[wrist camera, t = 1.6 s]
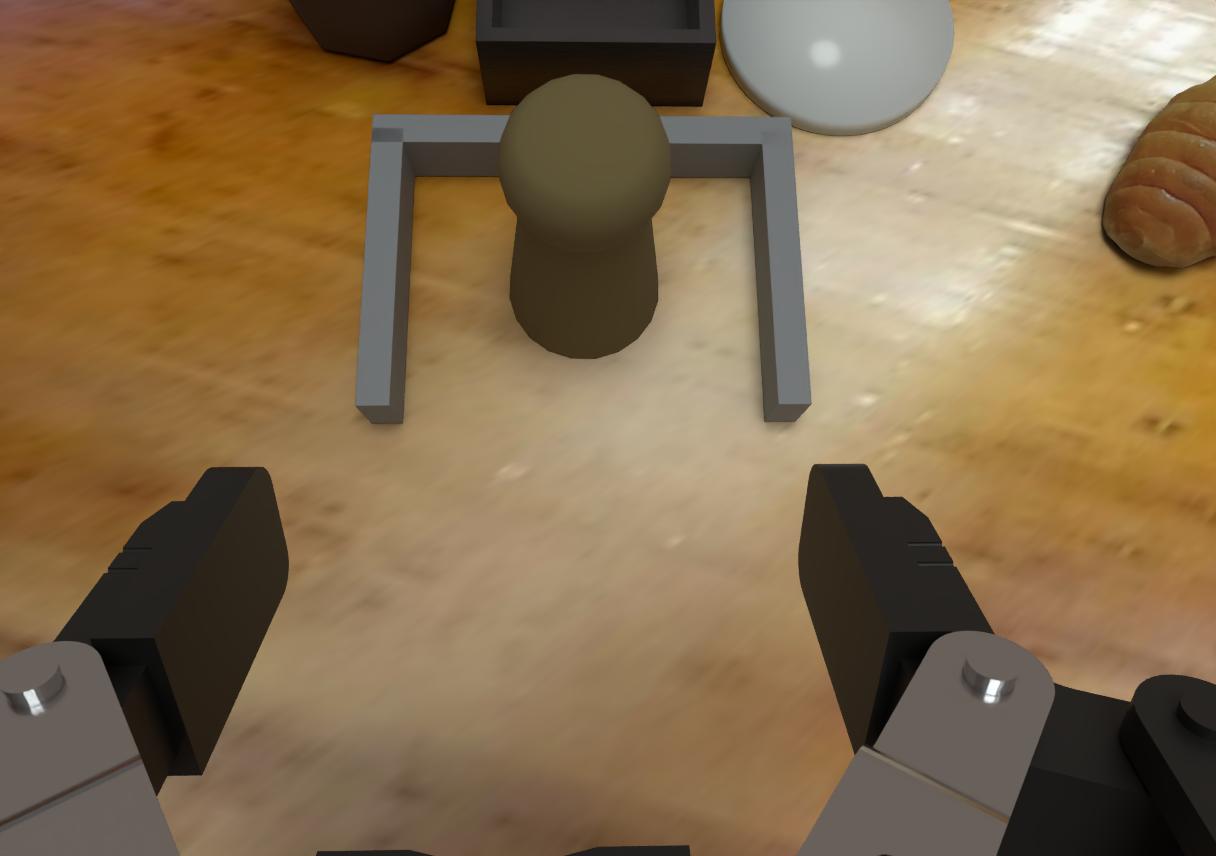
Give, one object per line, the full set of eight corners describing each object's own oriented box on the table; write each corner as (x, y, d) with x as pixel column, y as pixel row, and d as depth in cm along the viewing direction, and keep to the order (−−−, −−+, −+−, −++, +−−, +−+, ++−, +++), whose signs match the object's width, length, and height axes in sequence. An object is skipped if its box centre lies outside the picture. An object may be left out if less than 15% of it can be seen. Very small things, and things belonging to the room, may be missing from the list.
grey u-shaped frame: (371, 423, 33) (354, 405, 31) (387, 149, 36) (373, 114, 34) (795, 421, 34) (811, 403, 32) (777, 152, 37) (790, 117, 34)
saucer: (724, 135, 37) (728, 121, 36) (714, -61, 39) (717, -79, 39) (956, 136, 37) (966, 122, 36) (932, -58, 40) (941, -76, 39)
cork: (553, 196, 36) (541, 6, 25) (684, 259, 36) (727, 92, 25) (481, 317, 35) (437, 169, 24) (616, 384, 34) (632, 264, 23)
